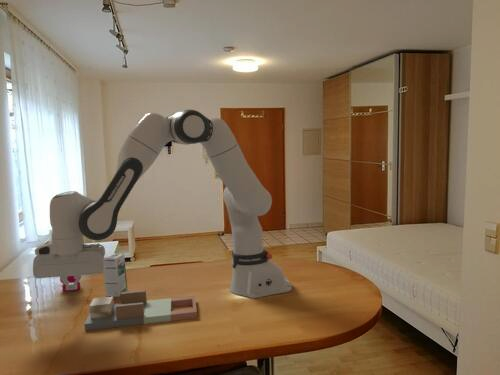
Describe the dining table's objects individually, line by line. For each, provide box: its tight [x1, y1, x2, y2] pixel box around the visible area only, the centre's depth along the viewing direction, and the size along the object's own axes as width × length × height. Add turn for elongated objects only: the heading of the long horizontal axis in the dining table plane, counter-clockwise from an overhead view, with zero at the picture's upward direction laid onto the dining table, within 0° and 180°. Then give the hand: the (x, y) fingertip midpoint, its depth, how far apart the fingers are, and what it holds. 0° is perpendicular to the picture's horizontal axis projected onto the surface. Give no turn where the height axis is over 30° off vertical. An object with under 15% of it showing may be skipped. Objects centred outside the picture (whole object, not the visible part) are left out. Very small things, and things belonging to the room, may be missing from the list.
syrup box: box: [102, 252, 129, 298], centre depth 145 cm, size 6×6×14 cm
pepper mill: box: [59, 276, 82, 293], centre depth 151 cm, size 7×7×20 cm
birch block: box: [89, 296, 115, 318], centre depth 125 cm, size 6×6×4 cm
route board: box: [84, 289, 198, 331], centre depth 127 cm, size 33×13×6 cm, turn 100°
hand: (71, 289), depth 122 cm, fingers closed
